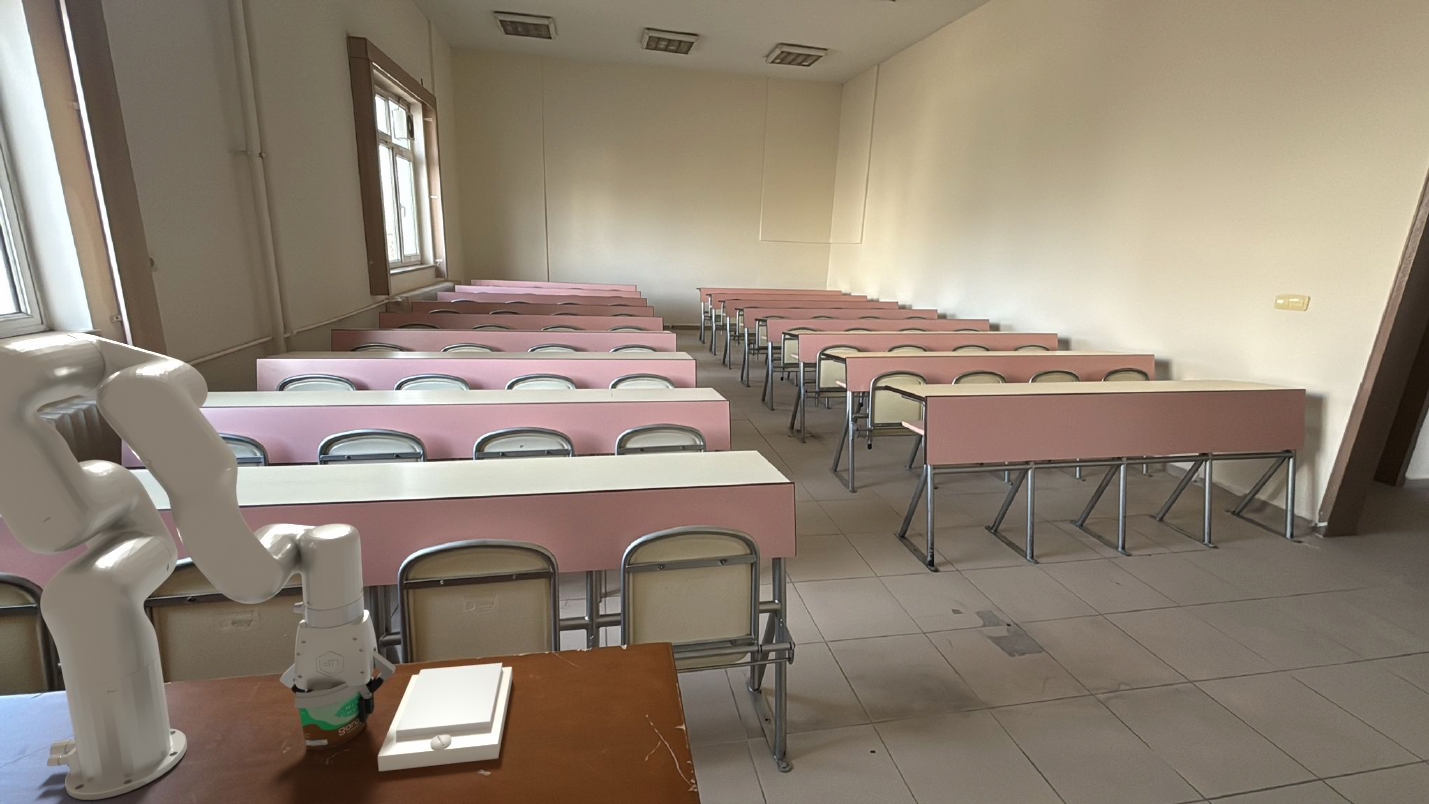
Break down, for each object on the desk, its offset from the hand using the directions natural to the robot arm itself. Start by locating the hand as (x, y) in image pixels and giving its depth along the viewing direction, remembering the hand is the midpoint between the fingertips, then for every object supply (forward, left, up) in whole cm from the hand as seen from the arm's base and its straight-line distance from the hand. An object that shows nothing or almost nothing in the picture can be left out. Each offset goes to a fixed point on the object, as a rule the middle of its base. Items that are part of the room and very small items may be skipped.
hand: (341, 718), depth 98 cm
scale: (+16, 0, -2) cm, 16 cm away
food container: (+1, 0, -2) cm, 3 cm away
